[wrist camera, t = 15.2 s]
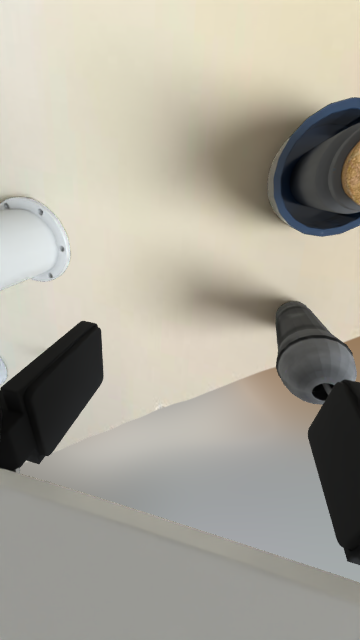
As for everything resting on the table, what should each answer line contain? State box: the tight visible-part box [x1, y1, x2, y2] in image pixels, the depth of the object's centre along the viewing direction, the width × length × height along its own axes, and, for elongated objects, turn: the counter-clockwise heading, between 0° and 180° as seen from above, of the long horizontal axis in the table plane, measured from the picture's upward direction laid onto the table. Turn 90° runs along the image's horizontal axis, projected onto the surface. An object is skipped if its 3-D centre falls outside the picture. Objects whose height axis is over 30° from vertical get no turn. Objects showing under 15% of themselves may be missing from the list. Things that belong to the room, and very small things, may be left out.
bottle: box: [290, 123, 360, 214], centre depth 20 cm, size 6×6×15 cm
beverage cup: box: [276, 301, 356, 404], centre depth 26 cm, size 7×7×20 cm
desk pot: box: [267, 97, 360, 236], centre depth 24 cm, size 11×11×6 cm
